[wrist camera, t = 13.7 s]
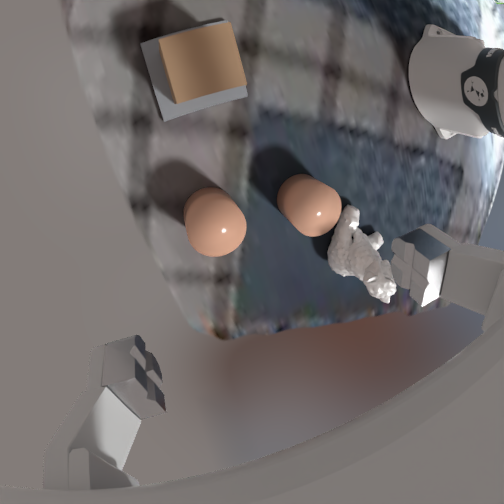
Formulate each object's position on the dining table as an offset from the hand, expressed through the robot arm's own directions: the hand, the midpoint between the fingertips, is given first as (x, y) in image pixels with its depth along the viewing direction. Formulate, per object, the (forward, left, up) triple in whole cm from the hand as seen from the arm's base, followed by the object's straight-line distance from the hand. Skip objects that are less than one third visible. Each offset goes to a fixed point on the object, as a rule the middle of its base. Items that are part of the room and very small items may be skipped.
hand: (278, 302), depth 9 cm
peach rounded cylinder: (0, +8, -26) cm, 27 cm away
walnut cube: (-3, -8, -25) cm, 27 cm away
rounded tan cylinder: (-11, +10, -26) cm, 30 cm away
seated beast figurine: (-17, +19, -26) cm, 36 cm away
